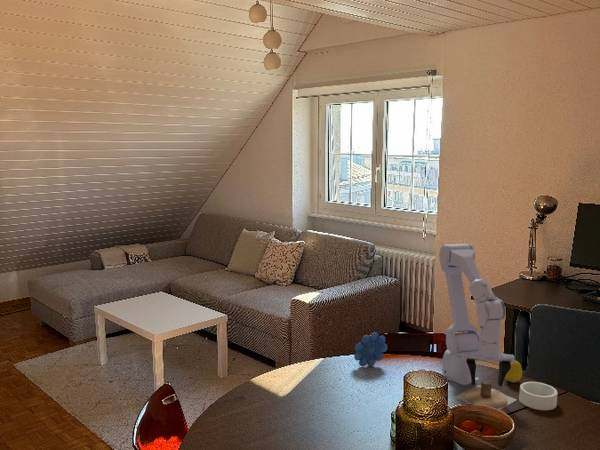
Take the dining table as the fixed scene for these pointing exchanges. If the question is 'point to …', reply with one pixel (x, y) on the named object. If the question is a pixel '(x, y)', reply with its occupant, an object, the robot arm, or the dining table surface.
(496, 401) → the lid
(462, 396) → the mat
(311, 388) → the dining table surface
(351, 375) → the dining table surface
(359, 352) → the grapes
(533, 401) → the bowl
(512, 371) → the lemon
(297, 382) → the dining table surface
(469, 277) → the robot arm
